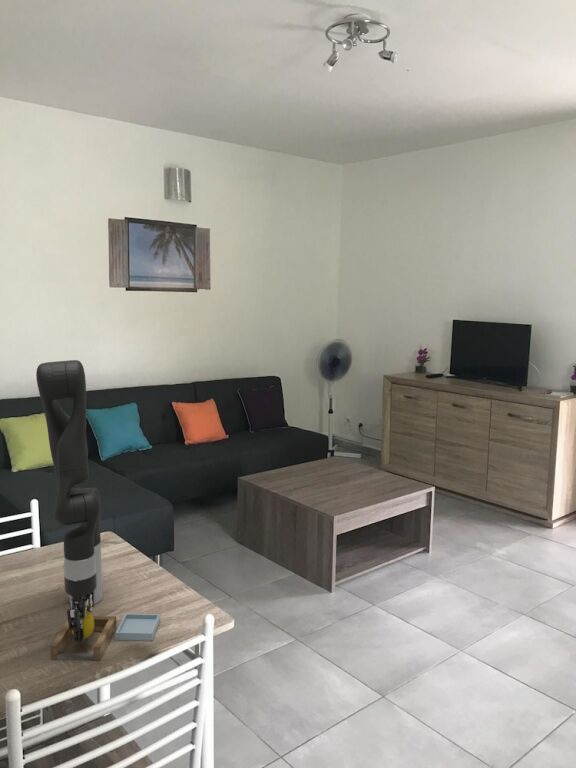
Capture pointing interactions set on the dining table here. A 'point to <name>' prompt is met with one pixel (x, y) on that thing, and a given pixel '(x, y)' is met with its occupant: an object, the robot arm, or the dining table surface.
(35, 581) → the dining table surface
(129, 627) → the dish
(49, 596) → the dining table surface
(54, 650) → the wooden letter tray
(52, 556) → the dining table surface
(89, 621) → the lemon
